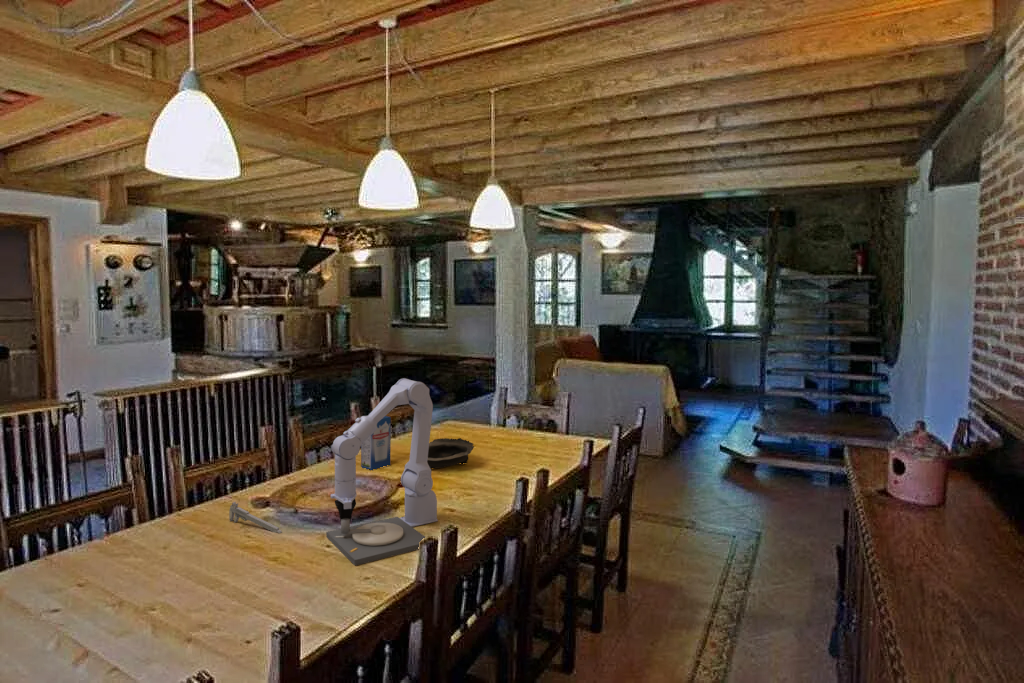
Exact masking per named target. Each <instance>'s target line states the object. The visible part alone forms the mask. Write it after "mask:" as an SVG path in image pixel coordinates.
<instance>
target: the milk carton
mask: <svg viewBox="0 0 1024 683" xmlns="http://www.w3.org/2000/svg"><path fill="white" fill-rule="evenodd" d="M391 424H392V422H391V416H387V415H386V416H385V417H383V418H382V419H381V420H380V421H379V422H378V423H377V426H376V431H375V432H374V433H373V434H372V435H371V436H370V437H369V438H368V439H367V440H366V441H365V442H364V443H363V444H362V445H361V446H360V451H361V454H360V455H361V456H360V460H361V462H360V465H361V467H362V468H361V467H360V468H361V469H364V468H366V469H365V470H368V469H370V470H369V471H371V470H372V471H374V470H373V469H376V470H378V469H377V468H379V469H381V468H380V467H383V466H386V467H388V466H387V465H390V466H391V442H392V441H391V434H392V433H391V431H392V430H391V427H392V426H391ZM383 468H384V467H383Z"/></svg>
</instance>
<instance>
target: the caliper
mask: <svg viewBox="0 0 1024 683" xmlns="http://www.w3.org/2000/svg"><path fill="white" fill-rule="evenodd" d="M229 506H230V507H229V518H228V519H229V520H228V521H229V522H233V523H234V524H235V523H237V522H238V521H239V519H241V520H243V521H244V522H246V521H250V522H251V523H253V524H256V525H258V526H260V527H261V528H264V529H266V530H268V531H270V532H271V533H277V534H281V533H283V531H282V530H281V529H280V527H278V526H277V525H274V524H272V523H270V522H267V521H266V520H263V519H262V518H260V517H257V516H256V515H253V514H252V513H250V511H248V510H245V508H244V509H243V508H242V507H240V506H239V503H237V502H236V501H233V502H232V503H231V505H229Z"/></svg>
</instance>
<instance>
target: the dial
mask: <svg viewBox="0 0 1024 683" xmlns="http://www.w3.org/2000/svg"><path fill="white" fill-rule="evenodd" d="M350 527H351V521H350V519H349V518H343V519H341V521H340V529H341V533H342V534H352V538H353V540H354V541H355V542H357V543H359V544H362V545H370V546H377V545H386V544H390V543H393V542H396V541H398V540H399V539H401V538H402V536H403V528H402V527H401V526H399V525H396V524H393V523H371V524H366V525H363V526H360V527H358V528H356V529H350Z"/></svg>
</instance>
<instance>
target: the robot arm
mask: <svg viewBox="0 0 1024 683" xmlns="http://www.w3.org/2000/svg"><path fill="white" fill-rule="evenodd" d="M401 405H402V406H404V405H409V406H410V407H411V408H412V409H413V410H414V412H413V422H412V432H411V442H410V452H409V460H408V461H407V462H406V463H405V465H404V470H403V472H402V474H401V477H400V483H401V485H402V487H403V488H404V516H402V517H399V518H400V519H401V520H403V521H404V522H406V523H407V524H408V525H410V526H411V527H413V528H415V527H417V526H423V525H427V524H432V523H434V522H435V523H436V522H438V521H439V520H438V517H437V515H438V514H437V512H438V499H437V495H436V493H435V491H434V490H432V489H433V485H434V482H433V478H432V469H431V468H430V467H429V465H428V463H427V460H428V450H429V443H430V438H431V430H432V429H431V428H432V420H433V419H432V418H433V410H434V409H433V408H434V404H433V401H432V399H431V396H430V388H429V387H428V386H427V384H425V383H424V382H422V381H416V380H411V379H409V378H405V377H404V378H400V379H398V381H397V382H396V383H395V384H394V385H392V386H391V387H390V389H389V391H388V392H387V394H386V395H385V396H384V397H383V398H382V399H381V401H380V402H379V403H378V404H376V406H375V407H374V408H373V409H372V411H370V412H369V414H368V415H362V416H360V417H357V418H356V419H355V420H354V421H355V423H353V424H352V425H351V426H350V428H347V430H345V431H344V432H343V434H342V435H339V436H337V437H335V439H334V440H333V443H332V444H331V445H330V450H331V451H332V453H333V454H334V493H331V494H330V499H335V500H334V504H335V507H336V509H337V512H338V515H339V519H340V522H341V519H343V518H349V519H350V522H351V521H352V520H351V519H352V514H353V512H354V509H355V507H356V505H357V501H356V497H357V489H356V488H357V482H356V481H357V480H356V479H357V478H356V477H357V475H356V474H357V473H356V472H357V468H356V466H357V465H356V463H357V462H356V460H357V458H356V457H357V455H358V454H360V451H361V445H362V444H363V443H364V442H365V441H366V440H367V439H368V438H369V437H370V436H371V435H372V434H373V433H374V432H375V431H376V426H377V423H378V422H379V421H380V420H381V419H382V418H383V417H385V416H387V415H388V414H389V413H390V412H391V411H392V410H393V409H395V408H396V407H397V406H401Z"/></svg>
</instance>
